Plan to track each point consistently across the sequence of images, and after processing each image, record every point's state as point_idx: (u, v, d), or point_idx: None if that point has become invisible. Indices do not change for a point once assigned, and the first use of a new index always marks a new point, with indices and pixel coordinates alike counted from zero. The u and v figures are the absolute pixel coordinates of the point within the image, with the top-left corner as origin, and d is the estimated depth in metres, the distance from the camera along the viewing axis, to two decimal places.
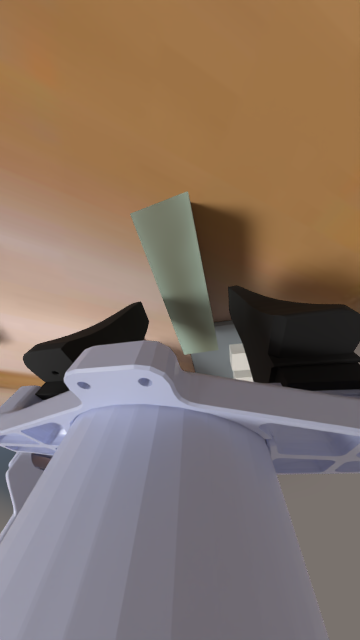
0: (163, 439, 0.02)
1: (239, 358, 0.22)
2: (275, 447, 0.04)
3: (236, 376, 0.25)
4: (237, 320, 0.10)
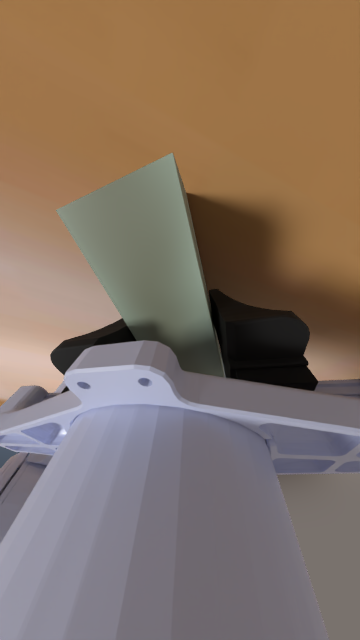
0: (163, 439, 0.02)
1: None
2: (275, 447, 0.04)
3: None
4: (215, 323, 0.10)
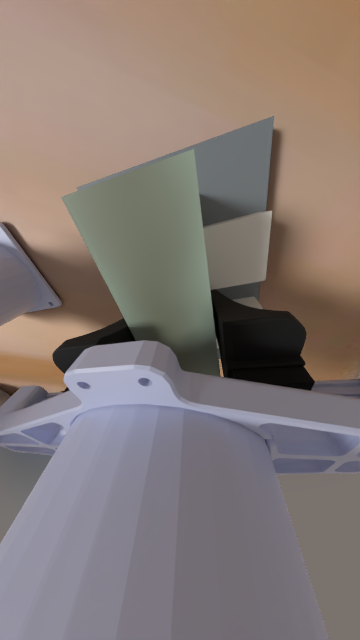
0: (163, 439, 0.02)
1: (218, 243, 0.09)
2: (275, 447, 0.04)
3: None
4: (214, 323, 0.10)
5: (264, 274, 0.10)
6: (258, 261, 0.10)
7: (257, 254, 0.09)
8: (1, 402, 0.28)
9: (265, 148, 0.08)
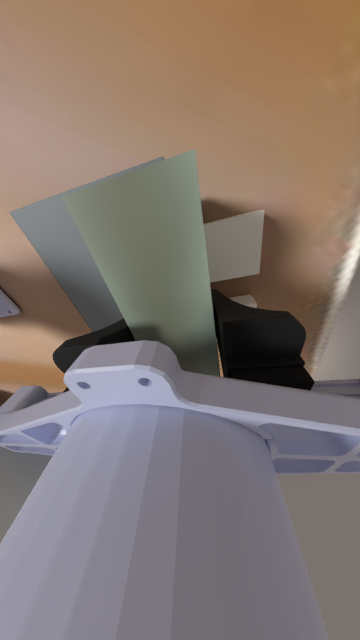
0: (163, 439, 0.02)
1: (216, 239, 0.10)
2: (275, 447, 0.04)
3: None
4: (214, 323, 0.10)
5: (257, 268, 0.11)
6: (252, 255, 0.10)
7: (251, 249, 0.10)
8: None
9: None
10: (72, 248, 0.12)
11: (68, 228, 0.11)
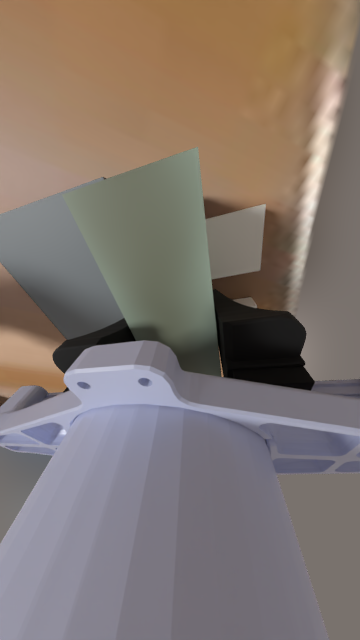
0: (163, 439, 0.02)
1: (216, 234, 0.10)
2: (275, 447, 0.04)
3: None
4: None
5: (258, 264, 0.11)
6: (253, 252, 0.10)
7: (252, 245, 0.10)
8: None
9: None
10: (33, 258, 0.12)
11: (26, 240, 0.12)
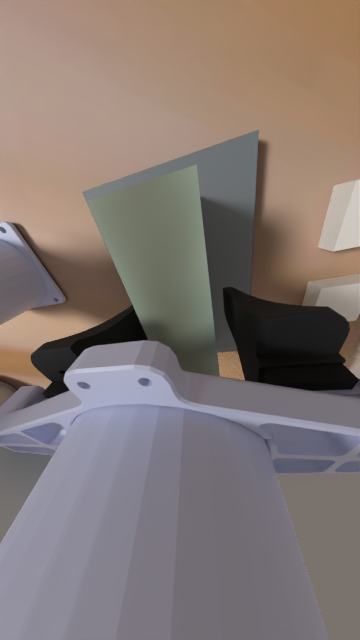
0: (163, 439, 0.02)
1: None
2: (275, 447, 0.04)
3: (321, 286, 0.13)
4: (231, 321, 0.10)
5: None
6: None
7: None
8: None
9: (252, 158, 0.09)
10: None
11: None
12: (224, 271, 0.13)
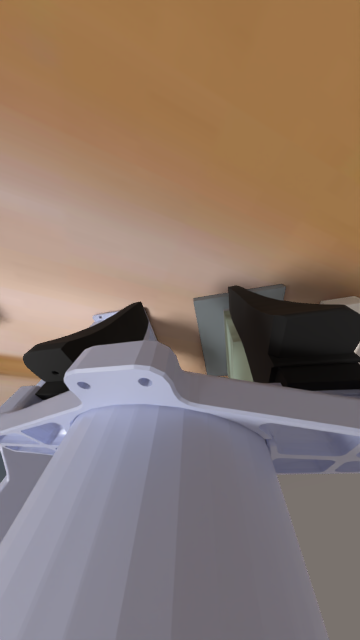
0: (163, 439, 0.02)
1: None
2: (275, 447, 0.04)
3: None
4: (237, 320, 0.10)
5: None
6: None
7: None
8: None
9: (281, 294, 0.19)
10: (218, 316, 0.22)
11: (221, 308, 0.21)
12: None
